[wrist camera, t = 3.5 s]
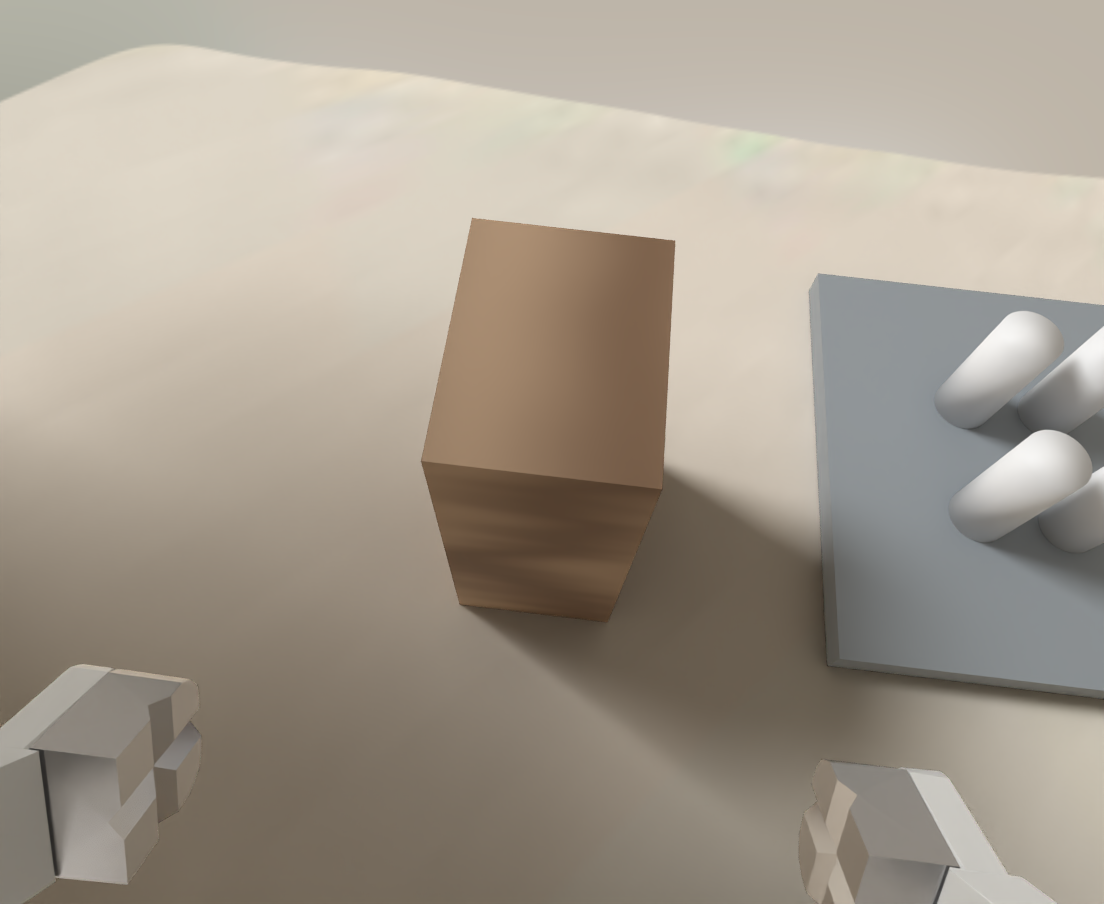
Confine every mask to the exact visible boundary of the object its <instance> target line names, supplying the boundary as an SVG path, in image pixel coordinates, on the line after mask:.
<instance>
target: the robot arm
mask: <svg viewBox="0 0 1104 904" xmlns="http://www.w3.org/2000/svg"><path fill="white" fill-rule="evenodd" d="M199 708H200V702H199V691H198V685H197V684H196V683H195V682H194V681H192V680H191V679H186V678H179V677H172V676H166V675H159V674H152V673H145V672H139V671H132V670H125V669H114V668H109V667H102V666H95V665H87V664H79V665H76V666H72V667H69V668H68V669H67V670H66V671H65V672H64V673H62V674H61V675H60V676H59V677H58V678H57V679H56V680H54V681H53V682H52V683H51V684H50V685H49V686H48V687H46V688H45V689H44V690H43V691H42V692H41V693H40V694H38V695H37V696H36V697H35V698H34V699H33V700H32V701H30V702H29V703H28V704H27V705H26V706H25V707H24V708H22V709H21V710H20V711H19V712H18V713H17V714H16V715H14V716H13V717H12V718H11V719H10V720H9V721H8V722H6V723H5V724H4V725H3V726H2V727H1V728H0V904H23V903H25V902H26V901H28V900H29V899H31V898H32V897H34V896H35V895H37V894H38V893H40V892H41V891H43V890H44V889H46V888H47V887H48V886H50V885H51V884H53V883H54V882H55V881H56V880H55V878H65V879H75V880H85V881H95V882H105V883H115V884H125V885H128V884H129V882H130V881H131V879H132V878H133V877H134V875H135V874H136V872H137V871H138V869H139V868H140V866H141V865H142V864H143V862H144V861H145V859H146V858H147V856H148V855H149V854H150V852H151V851H152V849H153V848H154V846H155V845H156V843H157V842H158V841H159V831H158V823H159V822H161V821H163V820H164V819H166V818H168V817H170V816H171V815H173V814H175V813H177V812H178V811H179V810H180V808H181V807H182V805H183V804H184V802H185V801H186V799H187V798H188V796H189V795H190V793H191V790H192V788H193V785H194V782H195V780H196V777H197V775H198V772H199V768H200V761H201V754H202V739H201V735H200V733H199V732H198V731H197V729H196V728H195V727H194V725H193V724H192V723H191V722H190V719H191V718H192V717H193V715H194V714H195V713H196V712H197V710H198V709H199ZM811 785H812V788H813V791H814V794H815V796H816V799H817V802H816V803H815V804H813V805H812V806H811V807H810V808H808V809H807V810H806V811H805V812H804V814H803V818H802V823H801V827H800V832H799V863H800V870H801V876H802V879H803V883H804V886H805V890H806V893H807V894H808V895H809V896H810V897H811V898H812V899H813V900H814V901H815V902H816V903H817V904H1058V903H1056V902H1055V901H1054V900H1052V899H1051V898H1050V897H1048V896H1047V895H1046V894H1044V893H1043V892H1042V891H1040V890H1039V889H1038V888H1036V887H1035V886H1034V885H1032V884H1031V883H1030V882H1028V881H1027V880H1026V879H1024V878H1023V877H1020V876H1013V875H1009V874H1008V873H1007V871H1006V869H1005V868H1004V866H1003V864H1002V863H1001V861H1000V860H999V858H998V856H997V855H996V853H995V852H994V850H993V848H992V847H991V845H990V843H989V842H988V840H987V839H986V837H985V835H984V834H983V832H982V830H981V829H980V827H979V826H978V824H977V822H976V821H975V819H974V818H973V816H972V814H971V813H970V811H969V809H968V808H967V806H966V805H965V803H964V801H963V800H962V798H961V797H960V795H959V793H958V792H957V790H956V788H955V787H954V785H953V784H952V782H951V780H950V779H949V778H948V777H947V776H946V775H945V774H943V773H942V772H941V771H934V770H924V769H914V768H904V767H900V768H892V767H884V766H875V765H867V764H859V763H851V762H842V761H834V760H826V759H821V761H820V762H819V764H818V765H817V767H816V769H815V772H814V776H813V780H812V783H811Z"/></svg>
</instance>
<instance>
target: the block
mask: <svg viewBox="0 0 1104 904" xmlns="http://www.w3.org/2000/svg"><path fill="white" fill-rule="evenodd" d="M674 255H675V241H673V240H664V239H655V238H646V237H637V236H628V235H619V234H610V233H601V232H592V231H583V230H574V229H565V228H556V227H547V226H538V225H530V224H521V223H512V222H503V221H494V220H485V219H476V218H472V221H471V226H470V231H469V235H468V240H467V245H466V250H465V254H464V259H463V264H462V269H461V273H460V278H459V283H458V288H457V293H456V297H455V302H454V307H453V312H452V316H451V321H450V326H449V331H448V335H447V340H446V345H445V350H444V354H443V359H442V364H441V369H440V373H439V378H438V383H437V388H436V393H435V397H434V402H433V407H432V412H431V416H430V421H429V426H428V431H427V435H426V440H425V445H424V450H423V454H422V459H421V462H422V466H423V470H424V474H425V477H426V481H427V485H428V488H429V492H430V496H431V500H432V503H433V507H434V511H435V514H436V518H437V522H438V526H439V529H440V533H441V537H442V540H443V544H444V548H445V552H446V555H447V559H448V563H449V566H450V570H451V574H452V578H453V581H454V585H455V589H456V592H457V596H458V600H459V604H460V605H468V606H477V607H485V608H493V609H502V610H510V611H518V612H526V613H535V614H543V615H551V616H560V617H568V618H576V619H585V620H593V621H601V622H608V620H609V618H610V615H611V613H612V610H613V608H614V606H615V603H616V601H617V598H618V596H619V593H620V591H621V589H622V586H623V584H624V581H625V579H626V576H627V574H628V571H629V569H630V567H631V564H632V562H633V559H634V557H635V554H636V552H637V550H638V547H639V545H640V542H641V540H642V537H643V535H644V533H645V530H646V528H647V525H648V523H649V520H650V518H651V516H652V513H653V511H654V508H655V506H656V503H657V501H658V499H659V496H660V494H661V491H662V486H663V467H664V447H665V428H666V409H667V390H668V370H669V351H670V332H671V313H672V293H673V274H674Z"/></svg>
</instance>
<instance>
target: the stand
mask: <svg viewBox="0 0 1104 904" xmlns="http://www.w3.org/2000/svg"><path fill="white" fill-rule="evenodd" d="M809 303H810V323H811V344H812V365H813V385H814V406H815V426H816V447H817V468H818V488H819V509H820V529H821V550H822V571H823V591H824V612H825V632H826V653H827V666H833V667H842V668H850V669H858V670H867V671H875V672H883V673H892V674H900V675H908V676H916V677H925V678H933V679H941V680H950V681H958V682H966V683H975V684H983V685H991V686H999V687H1008V688H1016V689H1024V690H1033V691H1041V692H1049V693H1058V694H1066V695H1074V696H1082V697H1091V698H1099V699H1104V305H1096V304H1087V303H1079V302H1070V301H1061V300H1052V299H1043V298H1034V297H1025V296H1016V295H1007V294H998V293H989V292H980V291H971V290H962V289H953V288H944V287H935V286H926V285H917V284H908V283H899V282H890V281H881V280H872V279H863V278H854V277H845V276H836V275H827V274H818V275H817V276H816V278H815V280H814V282H813V284H812V286H811V288H810V290H809Z"/></svg>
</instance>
